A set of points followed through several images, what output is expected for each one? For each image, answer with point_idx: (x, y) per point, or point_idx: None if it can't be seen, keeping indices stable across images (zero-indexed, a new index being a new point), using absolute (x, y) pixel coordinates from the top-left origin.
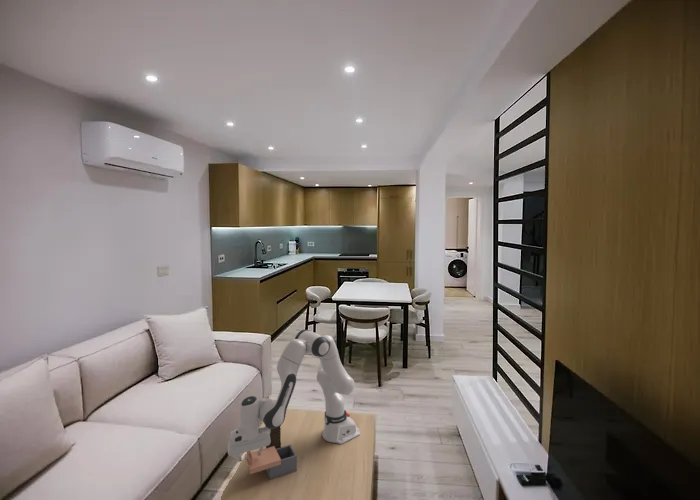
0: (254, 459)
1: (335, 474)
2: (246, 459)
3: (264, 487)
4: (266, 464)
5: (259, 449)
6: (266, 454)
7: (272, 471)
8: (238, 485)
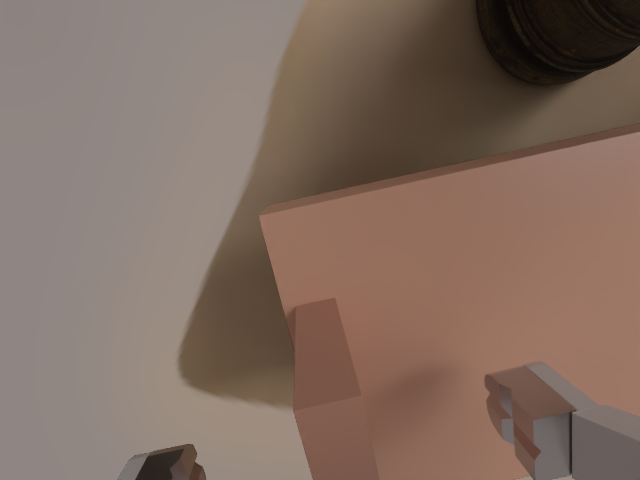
0: (406, 366)
1: None
2: (289, 327)
3: None
4: None
5: (604, 425)
6: (589, 294)
7: None
8: (237, 325)
